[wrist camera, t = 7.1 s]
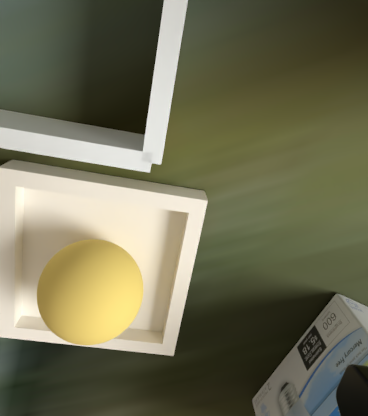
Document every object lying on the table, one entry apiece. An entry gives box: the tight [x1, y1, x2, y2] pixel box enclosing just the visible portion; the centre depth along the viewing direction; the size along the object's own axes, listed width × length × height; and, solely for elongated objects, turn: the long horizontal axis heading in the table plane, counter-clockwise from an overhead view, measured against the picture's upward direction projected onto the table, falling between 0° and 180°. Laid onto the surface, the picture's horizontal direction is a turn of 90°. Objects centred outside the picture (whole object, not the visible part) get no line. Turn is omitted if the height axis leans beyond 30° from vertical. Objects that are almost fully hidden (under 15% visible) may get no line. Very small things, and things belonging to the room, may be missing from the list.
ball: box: [37, 239, 143, 345], centre depth 17 cm, size 5×5×5 cm
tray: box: [0, 160, 208, 356], centre depth 19 cm, size 10×10×2 cm
